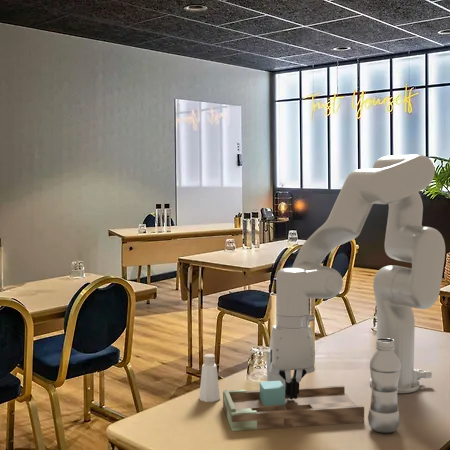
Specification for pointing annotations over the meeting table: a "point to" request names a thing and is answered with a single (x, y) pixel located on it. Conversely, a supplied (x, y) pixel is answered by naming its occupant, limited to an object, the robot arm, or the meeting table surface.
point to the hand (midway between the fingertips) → (292, 396)
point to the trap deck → (291, 409)
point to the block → (272, 393)
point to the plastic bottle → (384, 387)
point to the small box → (271, 376)
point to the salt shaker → (209, 380)
